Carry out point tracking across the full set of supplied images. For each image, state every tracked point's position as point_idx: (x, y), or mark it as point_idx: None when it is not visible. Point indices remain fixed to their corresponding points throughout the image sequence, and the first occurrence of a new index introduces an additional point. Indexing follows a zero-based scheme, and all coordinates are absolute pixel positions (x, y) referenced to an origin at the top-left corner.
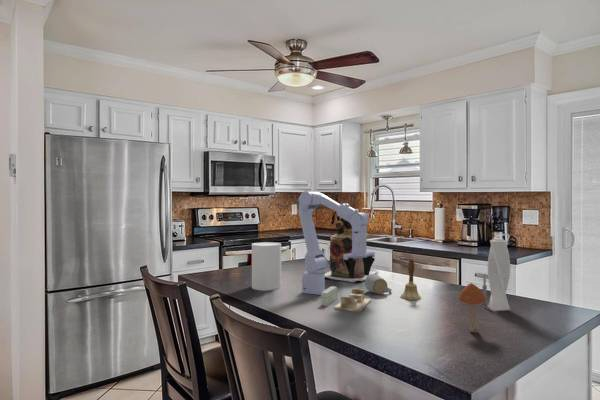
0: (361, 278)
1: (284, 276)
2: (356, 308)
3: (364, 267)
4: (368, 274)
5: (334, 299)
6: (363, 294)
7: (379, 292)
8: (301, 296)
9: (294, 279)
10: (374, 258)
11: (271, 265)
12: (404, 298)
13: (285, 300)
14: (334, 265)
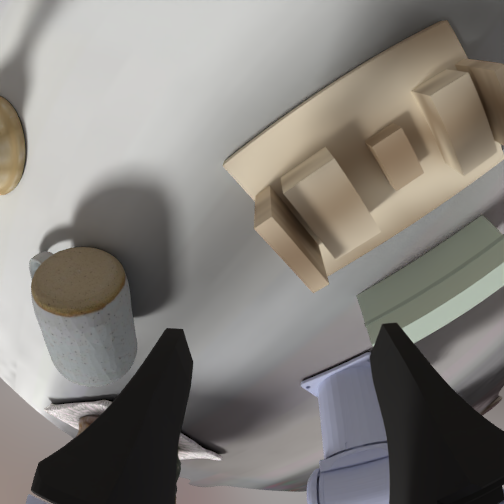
0: (101, 409)
1: (289, 468)
2: (452, 51)
3: (177, 428)
4: (168, 335)
5: (393, 277)
6: (271, 201)
7: (97, 254)
8: (429, 357)
9: (287, 457)
10: (32, 489)
11: None
12: (20, 127)
13: (492, 333)
14: None
